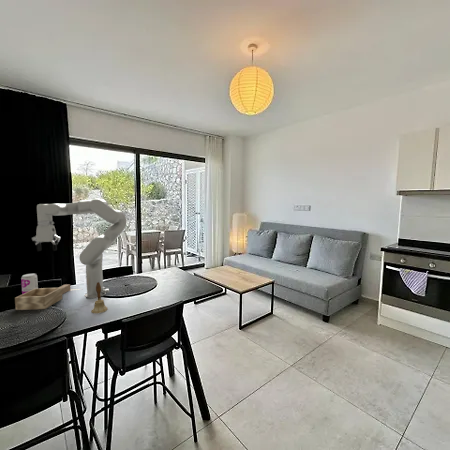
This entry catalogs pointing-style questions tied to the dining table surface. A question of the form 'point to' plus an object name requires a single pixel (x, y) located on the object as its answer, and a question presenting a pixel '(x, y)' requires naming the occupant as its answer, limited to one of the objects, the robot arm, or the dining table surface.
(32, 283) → the supplement can
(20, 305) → the box
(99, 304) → the hand bell
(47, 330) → the dining table surface
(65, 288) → the lid
